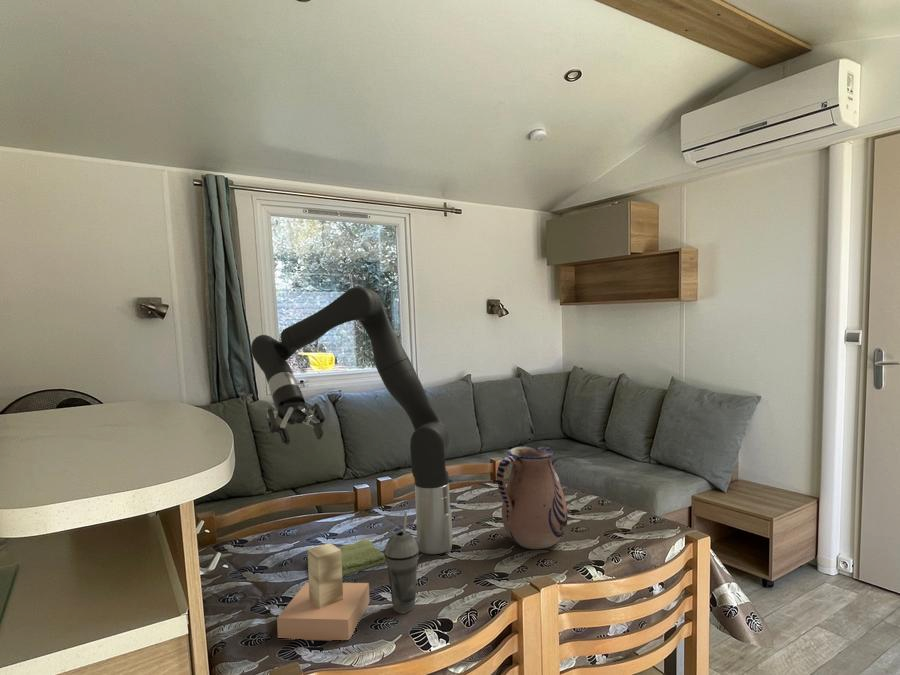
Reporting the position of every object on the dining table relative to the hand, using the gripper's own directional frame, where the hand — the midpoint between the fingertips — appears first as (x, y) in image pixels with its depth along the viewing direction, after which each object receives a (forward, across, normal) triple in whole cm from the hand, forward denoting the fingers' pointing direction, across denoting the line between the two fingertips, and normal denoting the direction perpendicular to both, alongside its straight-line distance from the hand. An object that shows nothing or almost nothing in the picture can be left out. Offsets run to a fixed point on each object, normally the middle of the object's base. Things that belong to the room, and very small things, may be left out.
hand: (304, 440), depth 127 cm
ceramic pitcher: (+45, +49, 0) cm, 66 cm away
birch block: (+38, -8, +1) cm, 39 cm away
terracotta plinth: (+41, -8, +4) cm, 42 cm away
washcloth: (+27, +7, +18) cm, 34 cm away
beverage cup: (+46, +6, -2) cm, 47 cm away
